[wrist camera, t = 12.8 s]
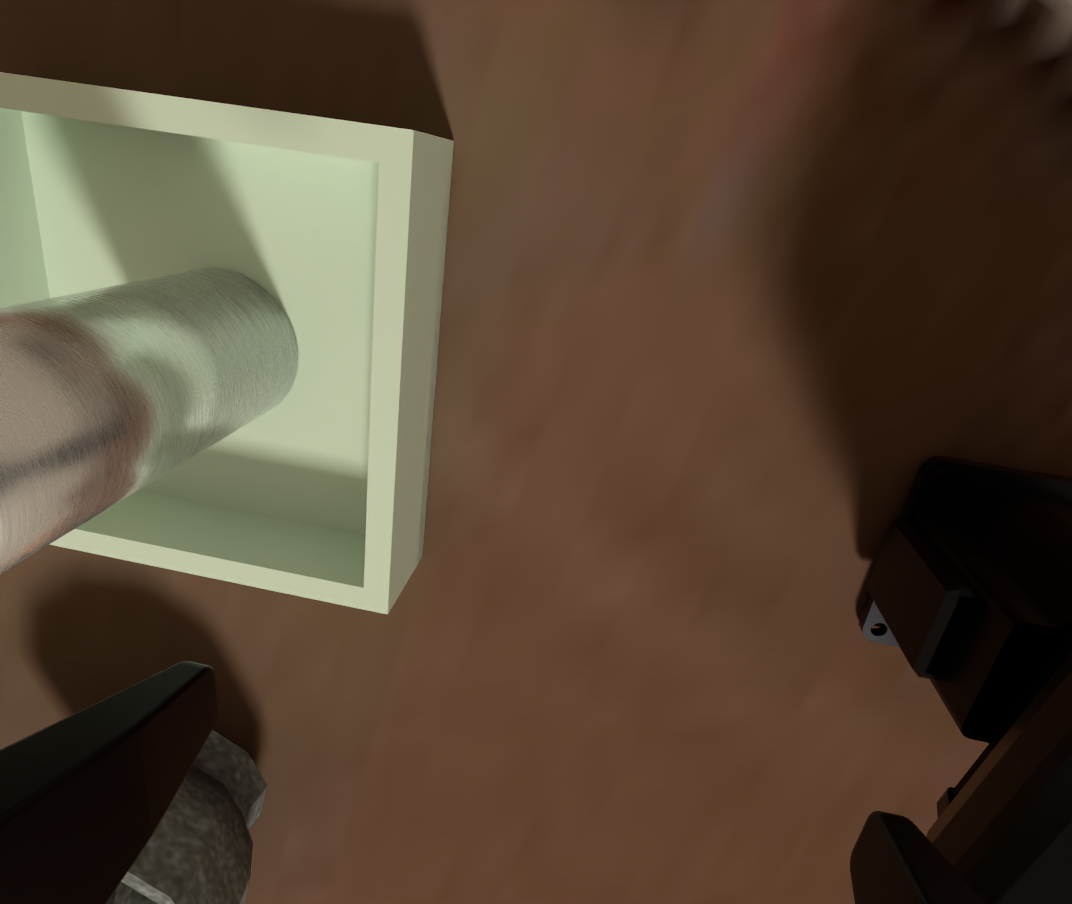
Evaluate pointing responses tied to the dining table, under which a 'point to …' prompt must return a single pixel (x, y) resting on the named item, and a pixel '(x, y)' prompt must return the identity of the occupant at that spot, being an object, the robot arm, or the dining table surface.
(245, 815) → the mortar and pestle
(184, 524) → the pale green bin
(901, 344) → the dining table surface
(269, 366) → the cylinder with three balls
